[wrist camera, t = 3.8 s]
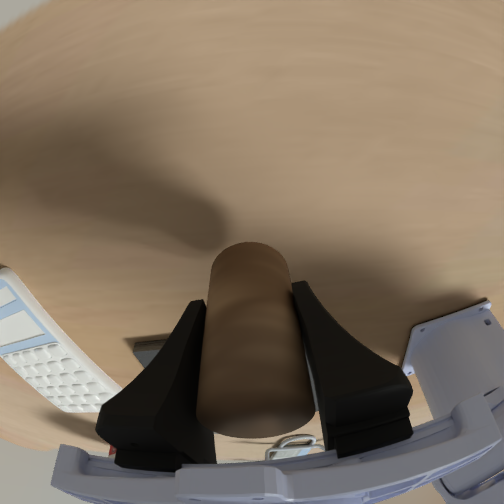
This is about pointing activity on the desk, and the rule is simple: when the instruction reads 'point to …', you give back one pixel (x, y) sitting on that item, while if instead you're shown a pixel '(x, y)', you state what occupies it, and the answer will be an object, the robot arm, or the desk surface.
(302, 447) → the wall mount rack
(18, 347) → the calculator
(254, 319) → the wooden cylinder
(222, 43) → the desk surface
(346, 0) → the desk surface
